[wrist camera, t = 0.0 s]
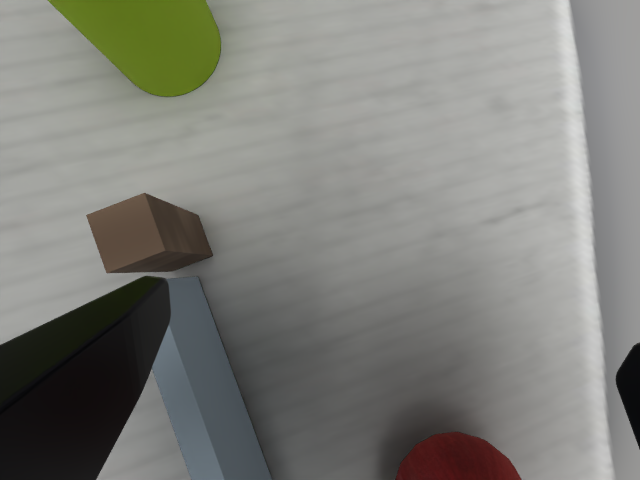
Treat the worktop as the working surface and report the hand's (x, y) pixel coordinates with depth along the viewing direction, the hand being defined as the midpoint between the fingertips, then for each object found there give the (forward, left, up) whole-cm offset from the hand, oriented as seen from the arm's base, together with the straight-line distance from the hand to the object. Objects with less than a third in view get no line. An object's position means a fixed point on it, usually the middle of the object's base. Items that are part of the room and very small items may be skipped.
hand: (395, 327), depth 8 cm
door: (-6, +8, -15) cm, 18 cm away
